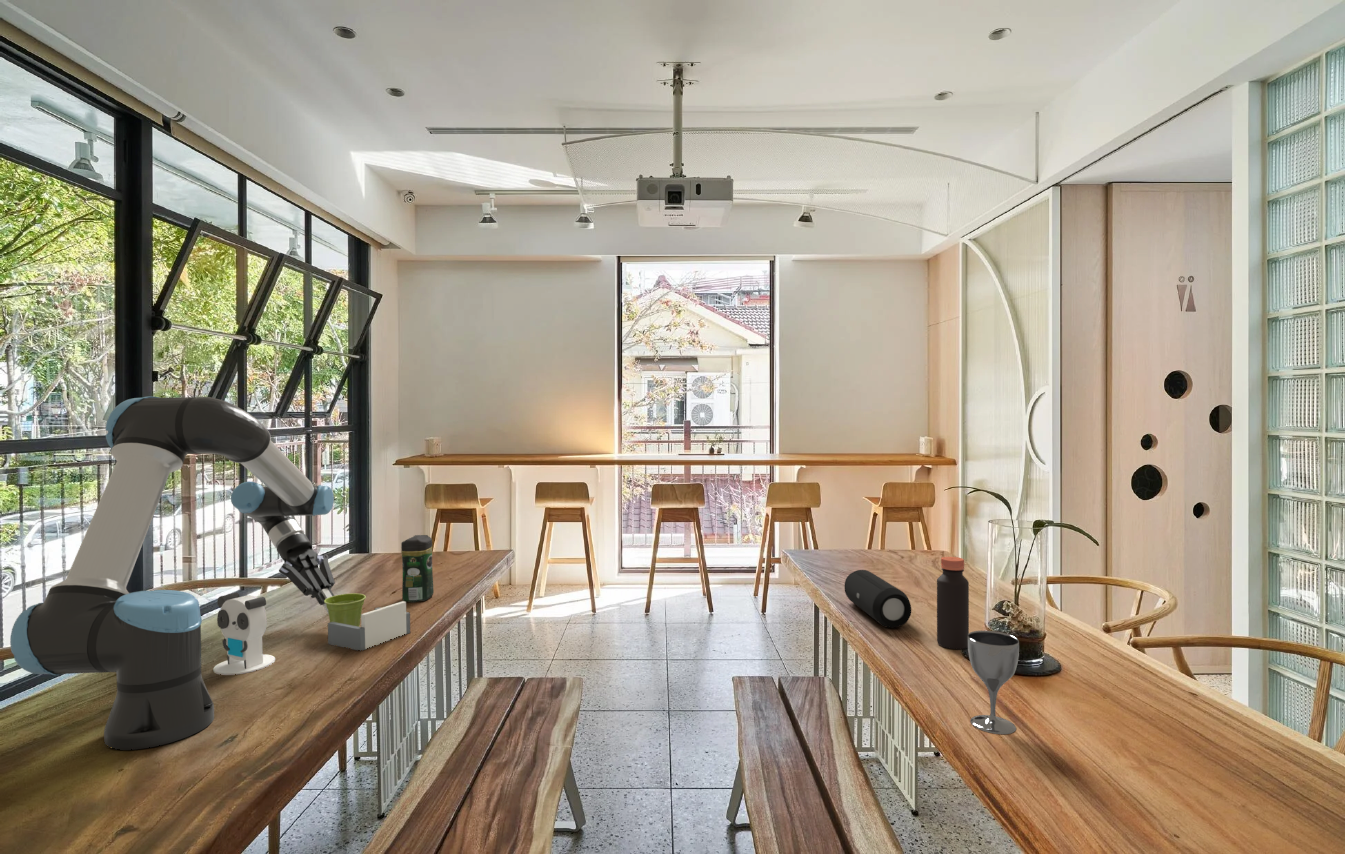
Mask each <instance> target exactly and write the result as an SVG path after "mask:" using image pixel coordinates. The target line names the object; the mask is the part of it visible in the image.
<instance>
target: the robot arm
mask: <svg viewBox="0 0 1345 854" xmlns="http://www.w3.org/2000/svg"><path fill="white" fill-rule="evenodd" d="M105 431H107V434H105V440H106V442H107V445H108V447H110V448H111V450H110V453H111V456H112V457H113V458H114V460H116V462H115V465H114V467H113V470H112V472H111V474H110V476H109V478H108V482H107V483H106V486H105V488H104V490H103V493H102V495H101V497H100V499H99V501H98V505H97V507H96V509H95V511H94V513H93V516H92V518H91V520H90V523H89V524H88V527H87V530H86V532H85V535H84V537H83V539H82V542H81V544H80V545H79V548H78V550H77V553H76V555H75V558H74V559H73V562H72V564H71V567H70V569H69V572H68V574H67V576H66V579H64V580H62V581H60V582H58V583H56V584H54V585H52V586H50V588H49V590H48V592H47V595H46V597H45V600H44V601H43V602H38V603H36V604H33V605H30V606H29V607H27V608H26V609H24V610H23V611H22V612H20V613H19V615H18V616H17V618H16V619H15V622H14V623H13V625H12V628H11V633H10V643H9V644H10V650H11V654H13V658H14V661H15V663H16V664H17V665H18V666H19V667H20V668H21V669H23V671H26V672H28V673H31V674H35V675H53V676H61V675H62V676H63V675H67V674H69V675H70V674H71V675H72V674H93V673H96V674H97V673H115V674H116V695H115V698H114V701H113V704H112V707H111V710H110V713H109V715H108V717H107V718H108V719H107V721H106V723H105V725H104V733H103V734H104V736H103V738H104V742H105V743H104V745H105V744H106V745H108V746H109V747H112V748H115V749H114V750H117V749H120V750H121V751H131V749H132V751H133V750H143V749H149V747H150V748H154V747H158V746H159V745H160V746H163V745H167V744H170V743H174V742H177V741H179V740H183V739H185V738H188V737H191V736H193V735H194V734H197V733H199V732H201V731H203V730H205V729H206V728H207V727H208V726H210V725H211V724H212V723H213V721H214V720H215V706H214V702H213V700H212V698H211V695H210V693H209V691H208V688H207V686H206V684H205V681H204V679H203V677H202V628H201V627H202V625H201V624H202V616H201V610H200V609H201V608H200V603H199V599H197V598H196V597H195V596H194V595H193V594H191V593H189V592H186V591H181V590H174V589H154V590H139V591H133V592H129V591H128V590H127V586H128V583H129V581H130V578H131V576H132V573H133V571H134V568H135V564H136V562H137V559H138V557H139V555H140V551H141V548H142V547H143V544H144V541H145V538H146V536H147V534H148V531H149V528H150V525H151V524H152V520H153V517H154V515H155V512H156V510H157V507H158V505H159V502H160V499H161V498H162V494H163V492H164V489H165V487H166V483H167V481H168V478H169V475H170V474H171V473H173V472H176V471H179V470H180V469H181V468H182V467H183V464H184V463H185V460H186V457H187V455H201V454H202V455H203V454H212V455H220V456H223V457H225V458H226V459H228V461H230V462H233V463H236V464H241V465H242V466H243V467H244V468H245V469H247V470H248V472H250V473H251V474H252V475H253V476H255V477H256V479H258V480H259V481H260V482H261V483H262V484H264V486H263V485H261V484H260V483H258V482H255V481H245V482H242V483H240V484H238V485H237V486H236V487H235V488H234V489H233V490H232V493H231V495H230V502H231V504H232V506H233V507H234V508H235V509H237V511H239V513H241V514H244V515H246V516H247V517H249V518H250V519H252V520H254V521H256V522H257V523H258V524H260V526H261V527H262V528H263V530H264V531H265V533H266V535H267V536H268V538H269V539H270V541H271V543H272V545H273V546H274V548H275V549H276V551H277V553H278V554H279V556H280V558H281V560H282V561H283V562H284V563H282V565H281V566H280V568H279V569H278V572H279V573H280V574H282V575H284V576H285V577H286V578H287V579H289V581H291V582H292V584H293V585H294V586H296V588H297V589H298V590H299V591H300V592H301V593H302V594H303V595H304V596H305V597H308V596H310V598H311V599H314V598H315V600H316V601H317V603H318V605H320V606H322V607H323V608H324V610H325V611H326V613H327V615H328V616H329V613H328V609H327V606H326V604H325V603H324V600H325V599H327V598H329V597H332V596H335V594H334V593H333V591H332V589H333V587H334V585H335V584H336V581H335V579H334V576H333V573H332V569H331V567H330V563H329V555H328V554H324V555H320V554H318V552H317V551H315V550H314V549H313V545H312V543H311V540H309V538H308V536H307V535H306V534H305V531H304V530H303V528H302V526H301V524H300V523H299V521H298V520H297V519H296V518H295V516H296V517H297V516H298V517H299V516H304V517H305V516H308V517H309V516H311V517H313V516H314V517H316V516H322V515H323V516H325V515H328V514H329V513H330V512H331V511H332V510H333V506H334V502H335V500H334V498H335V497H334V492H333V489H332V488H331V487H330V486H328V485H321V484H319V485H315V484H314V483H313V482H311V480H310V479H309V478H308V477H307V476H306V475H305V474H304V473H303V472H302V471H301V470H300V469H299V468H298V467H297V466H296V465H295V464H294V463H293V462H292V460H291V459H289V458H288V457H287V456H286V454H285V453H283V451H282V450H281V449H280V448H279V447H278V446H277V445H276V444H275V443H274V442H273V441H272V437H271V433H270V431H269V430H268V429H267V427H266V426H265V425H264V424H263V423H262V422H260V421H259V420H258V419H257V418H256V417H255V416H253V415H252V414H250V413H249V412H247V411H245V410H244V409H242V407H241V408H240V407H239V406H237V405H235V404H233V403H230V402H227V401H226V400H223V399H219V398H214V397H211V396H196V397H195V396H194V397H193V396H192V397H190V396H189V397H188V396H184V397H180V396H179V397H160V396H150V395H149V396H144V397H134V398H129V399H126V400H124V401H122V402H120V403H119V404H118V405H116V406H115V408H113V410H112V411H111V412H110V414H109V416H108V418H107V421H106V423H105ZM106 745H105V746H106ZM109 747H108V748H109ZM112 748H111V749H112Z"/></svg>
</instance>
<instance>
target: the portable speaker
mask: <svg viewBox="0 0 1345 854" xmlns="http://www.w3.org/2000/svg"><path fill="white" fill-rule="evenodd" d="M844 593H845V595H846V597H847V599H848V600H849V601H850V602H852V603H853V604H854V605H856V606H857V607H858V608H860V610H861V611H863V612H864V613H865V614H867V615H869V617H871V618H872V619H874V620H875V621H876V622H877V623H879V624H880V625H881V626H883V627H886V628H890V627H891V628H898V627H901V626H903V625H905V624H906V623H907V622H908V621H909V619H910V618H911V615H912V604H911V601H910V599H909V597H908V596H907V594H906V593H905V592H904V591H902V590H901V589H899V588H897V587H896V586H894V585H892V584H891V583H889V582H888V581H886V580H884V579H883V578H881V577H880V576H878V575H876V574H875V573H873V572H871V571H869V570H866V569H857V570H855V571H852V572H851V573H849V574H848V576H846V577H845V580H844Z"/></svg>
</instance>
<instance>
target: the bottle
mask: <svg viewBox="0 0 1345 854" xmlns="http://www.w3.org/2000/svg"><path fill="white" fill-rule="evenodd" d="M940 567H941V570H942V574H940V575H939V576H938V578H936V643H937V644H938V645H939V646H940V647H942V648H945V649H949V650H965V649H968V634H969V633H970V629H969V628H970V626H969V625H970V624H969V623H970V620H969V619H970V615H969V614H970V613H969V611H970V610H969V609H970V605H969V604H970V595H969V594H970V593H969V591H970V588H969V587H970V585H969V584H970V583H969V581H968V579H967V578H966V577H965V576H964V575H963V574H964V573H963V572H965V559H964V558H961V557H957V556H943V557H941V560H940Z"/></svg>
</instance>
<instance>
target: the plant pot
mask: <svg viewBox="0 0 1345 854" xmlns="http://www.w3.org/2000/svg"><path fill="white" fill-rule="evenodd" d="M366 598H367V596H366V595H365V594H363V593H355V592H353V593H352V592H350V593H342V594H336V595H335V594H334V596H332V597H329V598H327V599H325V600H324V603H325V604H326V606H327V609H328V613H329V615H328V617H329V618H328V619H329V623H330V622H337V623H342V624H347V625H352V626H358V627H361V614H362V611H363V606H364V603H365V600H366ZM328 613H327V614H328Z"/></svg>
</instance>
